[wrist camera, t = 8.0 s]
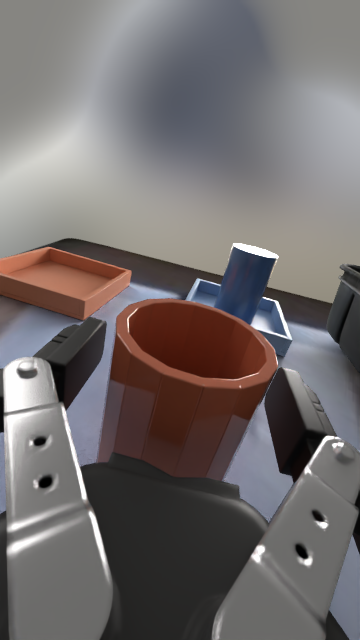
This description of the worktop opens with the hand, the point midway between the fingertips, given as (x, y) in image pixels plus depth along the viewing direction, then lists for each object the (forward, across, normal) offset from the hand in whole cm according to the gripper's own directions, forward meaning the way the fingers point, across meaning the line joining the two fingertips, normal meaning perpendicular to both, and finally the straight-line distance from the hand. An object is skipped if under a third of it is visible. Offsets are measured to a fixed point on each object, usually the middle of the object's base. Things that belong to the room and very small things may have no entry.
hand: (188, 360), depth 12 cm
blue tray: (+28, +6, -9) cm, 30 cm away
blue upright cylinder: (+28, +6, -8) cm, 30 cm away
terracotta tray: (+24, -18, -9) cm, 31 cm away
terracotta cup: (-1, 0, -9) cm, 9 cm away
